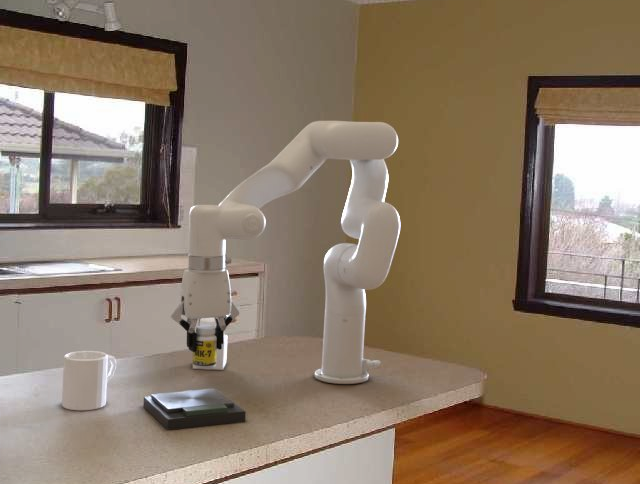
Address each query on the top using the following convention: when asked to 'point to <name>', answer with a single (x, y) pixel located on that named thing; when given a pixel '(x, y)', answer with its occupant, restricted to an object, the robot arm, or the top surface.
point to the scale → (195, 415)
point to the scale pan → (190, 399)
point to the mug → (86, 379)
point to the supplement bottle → (205, 347)
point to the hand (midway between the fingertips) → (205, 348)
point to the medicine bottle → (220, 353)
